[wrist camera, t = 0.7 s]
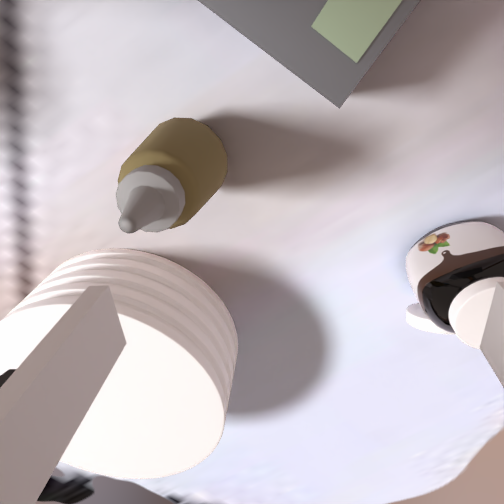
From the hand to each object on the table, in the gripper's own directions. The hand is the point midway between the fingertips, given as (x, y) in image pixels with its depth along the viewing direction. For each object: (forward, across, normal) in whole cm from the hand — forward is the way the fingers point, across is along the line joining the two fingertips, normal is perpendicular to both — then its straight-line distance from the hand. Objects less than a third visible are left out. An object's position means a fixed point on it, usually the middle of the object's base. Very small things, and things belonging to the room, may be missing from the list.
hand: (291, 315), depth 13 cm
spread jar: (+28, +16, -15) cm, 36 cm away
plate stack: (+28, -22, -26) cm, 44 cm away
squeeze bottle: (+28, -10, 0) cm, 30 cm away
